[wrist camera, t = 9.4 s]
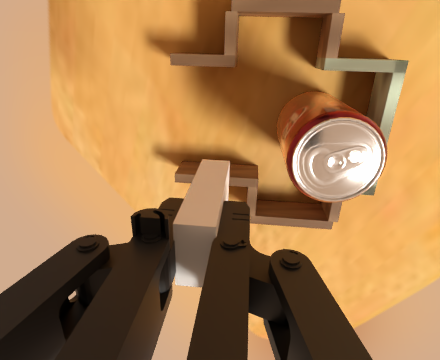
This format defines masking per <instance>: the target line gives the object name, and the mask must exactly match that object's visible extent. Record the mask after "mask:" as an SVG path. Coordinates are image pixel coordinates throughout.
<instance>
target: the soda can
mask: <svg viewBox="0 0 440 360" xmlns="http://www.w3.org/2000/svg"><path fill="white" fill-rule="evenodd" d="M277 135H278V139H279V143H280V146H281V150H282V153H283V157H284V160H285V164H286V168H287V171H288V174H289V177H290V179H291V181H292V182H293V184H294V186H295V187H296V188H297V189H298V190H299V191H300V192H302V193H303V194H305V195H306V196H308V197H310V198H312V199H315V200H318V201H322V202H342V201H346V200H350V199H353V198H355V197H357V196H359V195H361V194H362V193H364V192H365V191H367V190H368V189H369V188H370V187H371V186H372V185H373V184H374V183H375V182H376V181H377V180H378V178H379V177H380V175H381V174H382V172H383V169H384V167H385V164H386V160H387V144H386V140H385V137H384V135H383V133H382V131H381V129H380V128H379V127H378V126H377V124H376V123H375V122H374V121H372V120H371V119H370V118H368V117H367V116H365V115H363V114H362V113H360V112H358V111H357V110H355V109H353V108H352V107H350V106H348V105H347V104H345V103H343V102H341V101H340V100H338V99H336V98H335V97H333V96H331V95H329V94H327V93H324V92H319V91H311V92H305V93H302V94H300V95H297V96H296V97H294V98H292V99H291V100H290V101H289V102H288V103H287V104H286V105H285V106H284V108H283V109H282V110H281V113H280V115H279V117H278V121H277Z"/></svg>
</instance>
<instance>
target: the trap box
mask: <svg viewBox="0 0 440 360" xmlns="http://www.w3.org/2000/svg"><path fill="white" fill-rule="evenodd" d="M340 3H341V0H232V6H231V11H226V12H225V46H224V54H196V53H171V54H170V61H171V65H182V66H212V67H236V66H237V52H238V30H239V16H263V17H315V18H323V19H322V26H321V32H320V39H319V46H318V53H317V60H316V67H315V68H318V69H321V70H332V71H362V72H376V74H375V79H374V83H373V88H372V92H371V97H370V101H369V106H368V110H367V115H366V116H367V117H368V118H370V119H371V120H372V121H374V122H375V123H376V124H377V126H378V127H379V128H380V129H381V131H382V133H383V135H384V137H385V140H386V144H387V142H388V138H389V134H390V131H391V127H392V123H393V119H394V115H395V111H396V108H397V104H398V100H399V96H400V92H401V88H402V84H403V81H404V77H405V73H406V69H407V65H408V61H406V60H392V59H363V58H338V52H339V46H340V40H341V34H342V28H343V22H344V16H345V13H339V9H340ZM200 163H201V162H188V161H183V162H182V163H181V165H180V166H179V168H178V169H177V171H176V173H175V182H180V183H192V181H193V179H194V176H195V174H196V172H197V170H198V168H199V166H200ZM377 181H378V180H377ZM377 181H376V182H375V183H374V184H373V185H372V186H371V187H370V188H369V189H368V190H367V191H365V192H364V193H362V194H361V195H374V192H375V188H376V184H377ZM229 186H241V187H248V191H247V205H248V206H249V207H250V223H253V224H266V225H280V226H293V227H306V228H319V229H332V225H333V222H338V219H339V214H340V210H341V205H342V202H322V201H321V204H312V203H297V202H283V201H268V200H257V189H258V166H255V165H238V164H230V170H229Z"/></svg>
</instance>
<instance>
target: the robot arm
mask: <svg viewBox="0 0 440 360" xmlns="http://www.w3.org/2000/svg"><path fill="white" fill-rule="evenodd" d="M229 170H230V161H223V160H206V159H202V161H201V163H200V166H199V168H198V170H197V172H196V174H195V176H194V179H193V181H192V183H191V185H190V187H189V190H188V192H187V194H186V196H185V198H184V199H182V198H168V199H167V200H165V201H164V202H162V203H161V205H160V207H159V209H156V208H150V209H143V210H140V211H138V212H135V213H134V214H133V215H132V216H131V223H132V232H133V237H132V239H131V241H130V242H128V243H123V244H116V245H109V242H108V240H107V238H106V237H104V236H102V235H87V236H83V237H80V238H78V239H76V240H74V241H72V242H71V243H70V244H68V245H67V246H65V247H64V248H63V249H61V250H60V251H59V252H57V253H56V254H54V255H53V256H52V257H50V258H49V259H48V260H46V261H45V262H43V263H42V264H41V265H39V266H38V267H37V268H35V269H34V270H32V271H31V272H30V273H28V274H27V275H26V276H25V277H23V278H22V279H20V280H19V281H18V282H16V283H15V284H13V285H12V286H11V287H9V288H8V289H6V290H5V291H4V292H2V293H1V294H0V360H151V359H152V356H153V353H154V350H155V347H156V344H157V341H158V337H159V334H160V331H161V328H162V325H163V322H164V319H165V316H166V313H167V309H168V307H169V304H170V301H171V297H172V282H173V279H174V276H175V282H176V283H175V284H176V285H182V286H193V287H202V291H201V296H200V301H199V306H198V310H197V314H196V319H195V324H194V328H193V333H192V338H191V342H190V347H189V352H188V356H187V360H247V355H248V312H249V313H251V314H254V315H256V316H259V317H261V318H263V320H264V325H265V329H266V332H267V335H268V338H269V341H270V344H271V347H272V350H273V354H274V357H275V360H372V358H371V356H370V355H369V353H368V352H367V350H366V349H365V347H364V345H363V344H362V342H361V341H360V339H359V338H358V336H357V334H356V333H355V331H354V329H353V328H352V326H351V325H350V323H349V321H348V320H347V318H346V317H345V315H344V313H343V312H342V310H341V309H340V307H339V305H338V304H337V302H336V301H335V299H334V297H333V296H332V294H331V293H330V291H329V290H328V288H327V286H326V285H325V283H324V282H323V280H322V278H321V277H320V275H319V274H318V272H317V270H316V269H315V267H314V266H313V264H312V262H311V261H310V260H309V259H308V258H307V256H305V255H304V254H302V253H300V252H298V251H294V250H288V249H283V250H278V251H276V252H274V253H273V254H272V255H271V257H270V256H267V255H264V254H262V253H259V252H258V251H256V250H255V249H254V248H253V247H252V246H251V244H250V241H249V234H250V207H249V206H248V205H247V203H246V202H236V201H228V194H229ZM74 291H76V296H75V297H73V298H72V299H70V300H69V299H68V296H69V295H71V294H72V293H73V292H74Z"/></svg>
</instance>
